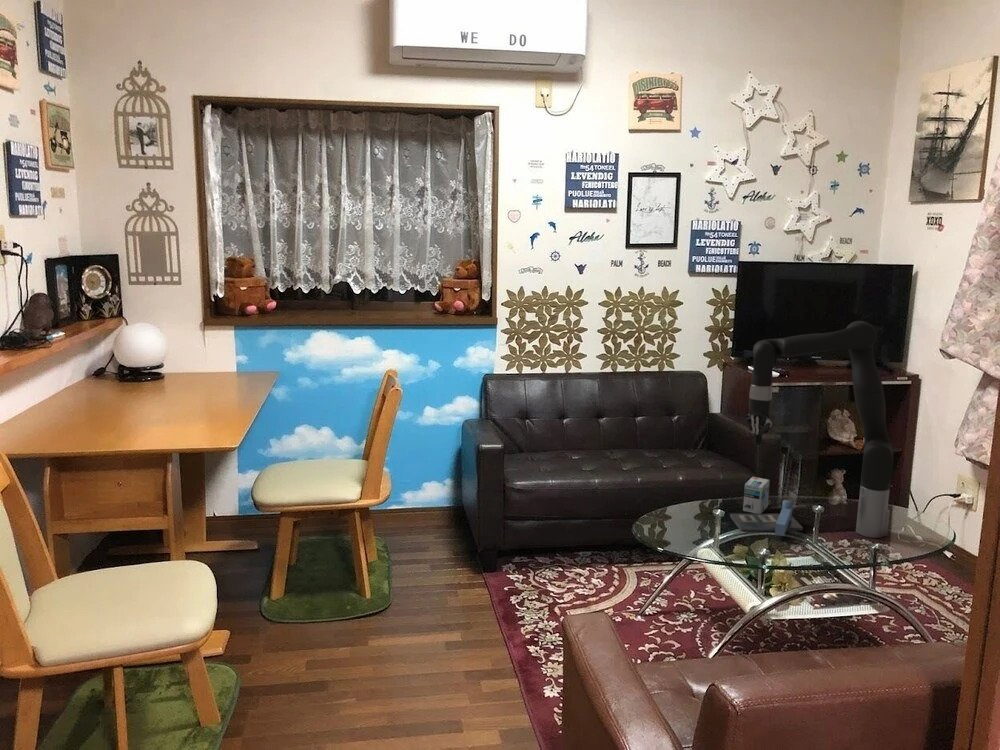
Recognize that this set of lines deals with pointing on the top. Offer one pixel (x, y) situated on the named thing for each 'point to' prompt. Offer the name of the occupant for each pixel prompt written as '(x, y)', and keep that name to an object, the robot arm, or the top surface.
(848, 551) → the top surface
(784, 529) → the swing arm
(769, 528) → the plate
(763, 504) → the light bulb box
